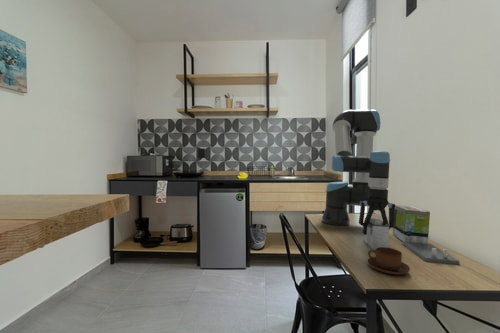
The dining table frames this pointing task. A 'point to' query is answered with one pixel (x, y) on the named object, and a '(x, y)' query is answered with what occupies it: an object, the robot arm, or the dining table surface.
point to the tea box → (411, 223)
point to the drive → (378, 234)
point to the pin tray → (430, 252)
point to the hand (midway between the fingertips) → (375, 242)
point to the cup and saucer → (388, 261)
